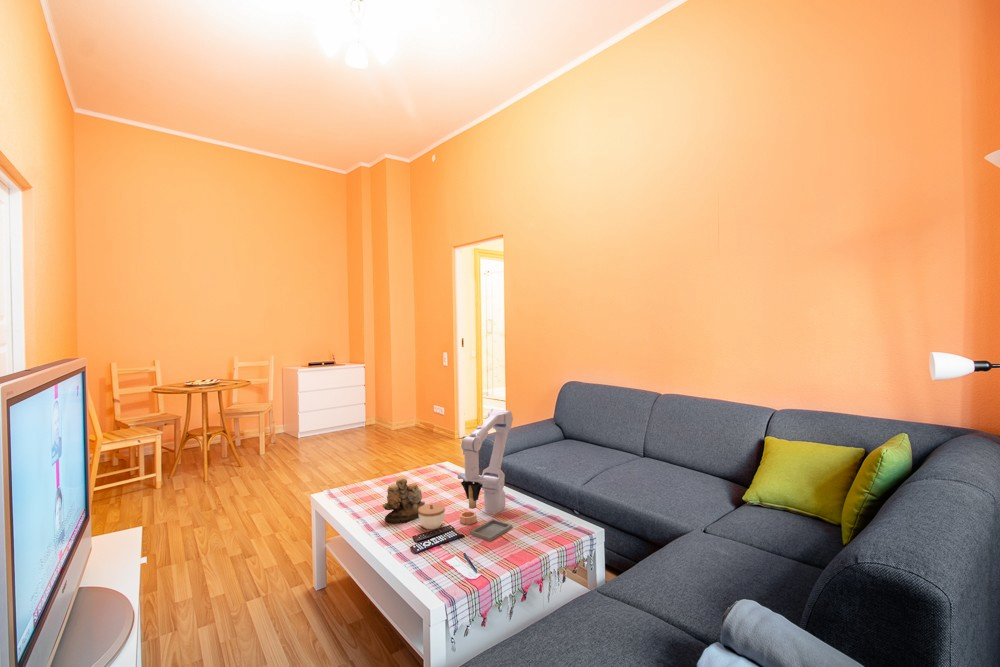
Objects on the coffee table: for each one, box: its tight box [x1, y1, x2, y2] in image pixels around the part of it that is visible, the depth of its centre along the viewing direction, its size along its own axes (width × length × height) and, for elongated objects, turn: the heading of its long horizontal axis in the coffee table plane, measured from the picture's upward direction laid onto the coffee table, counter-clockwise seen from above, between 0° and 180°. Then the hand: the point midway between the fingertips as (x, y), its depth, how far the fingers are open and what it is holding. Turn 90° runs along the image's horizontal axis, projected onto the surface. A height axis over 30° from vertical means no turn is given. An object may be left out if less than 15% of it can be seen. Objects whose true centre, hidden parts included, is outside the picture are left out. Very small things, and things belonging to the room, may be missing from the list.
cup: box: [459, 510, 477, 525], centre depth 193 cm, size 7×7×3 cm
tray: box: [469, 518, 513, 542], centre depth 183 cm, size 14×10×2 cm
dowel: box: [468, 484, 477, 510], centre depth 191 cm, size 3×3×9 cm
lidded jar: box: [418, 502, 446, 530], centre depth 189 cm, size 11×11×9 cm
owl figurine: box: [382, 477, 426, 525], centre depth 200 cm, size 18×12×17 cm, turn 118°
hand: (472, 499), depth 191 cm, fingers closed on dowel, 3 cm apart
